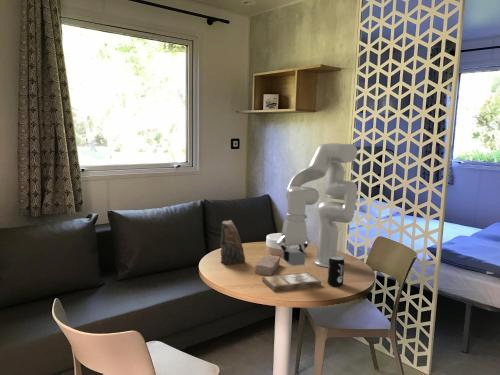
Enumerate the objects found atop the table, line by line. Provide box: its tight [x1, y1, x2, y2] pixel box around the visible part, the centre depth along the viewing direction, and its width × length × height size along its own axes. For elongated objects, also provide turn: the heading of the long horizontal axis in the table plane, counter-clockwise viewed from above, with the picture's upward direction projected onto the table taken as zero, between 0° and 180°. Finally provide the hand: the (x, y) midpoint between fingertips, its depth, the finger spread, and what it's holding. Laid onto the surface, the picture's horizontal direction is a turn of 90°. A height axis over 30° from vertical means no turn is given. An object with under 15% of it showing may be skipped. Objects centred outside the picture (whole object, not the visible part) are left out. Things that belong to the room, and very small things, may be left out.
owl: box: [219, 219, 246, 266], centre depth 195 cm, size 13×13×20 cm
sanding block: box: [281, 248, 306, 268], centre depth 166 cm, size 6×9×5 cm, turn 21°
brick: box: [254, 254, 281, 276], centre depth 186 cm, size 17×8×5 cm, turn 163°
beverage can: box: [327, 255, 345, 288], centre depth 168 cm, size 7×7×12 cm
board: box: [261, 271, 322, 293], centre depth 168 cm, size 22×12×2 cm, turn 111°
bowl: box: [265, 232, 299, 257], centre depth 215 cm, size 17×17×8 cm
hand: (293, 259), depth 166 cm, fingers closed on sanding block, 6 cm apart
